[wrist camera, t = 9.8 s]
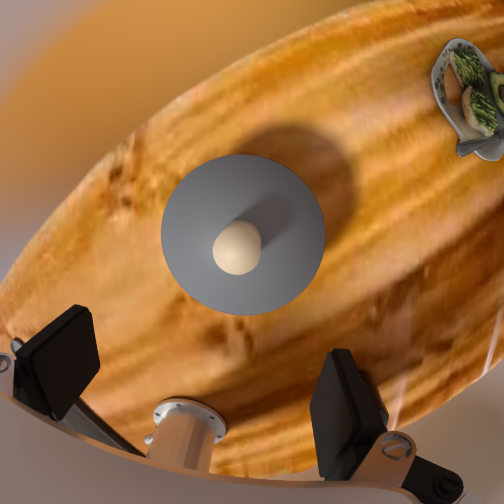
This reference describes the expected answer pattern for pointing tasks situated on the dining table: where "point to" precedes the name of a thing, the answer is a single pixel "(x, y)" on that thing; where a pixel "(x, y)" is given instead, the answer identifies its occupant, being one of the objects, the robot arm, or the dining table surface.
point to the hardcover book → (93, 427)
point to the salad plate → (472, 99)
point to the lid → (243, 234)
